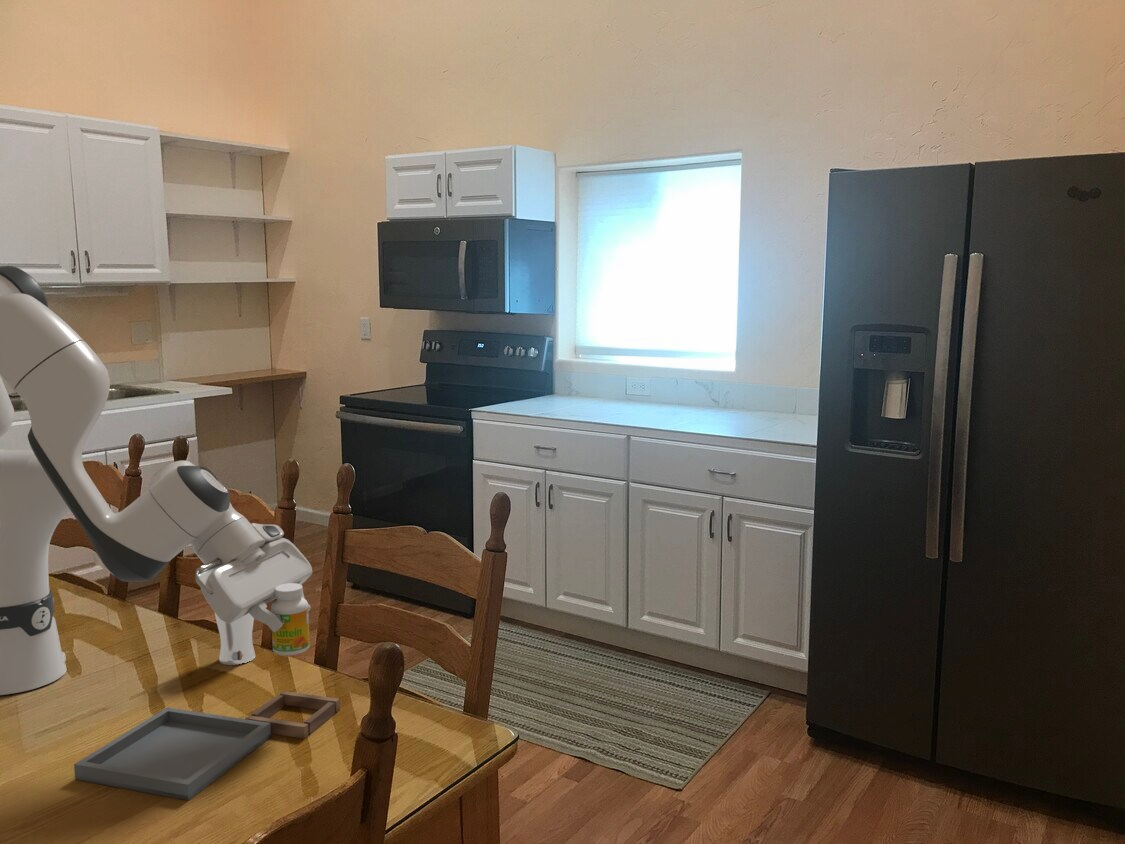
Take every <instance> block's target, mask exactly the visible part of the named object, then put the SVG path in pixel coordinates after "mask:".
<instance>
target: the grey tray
mask: <svg viewBox="0 0 1125 844" xmlns="http://www.w3.org/2000/svg"><path fill="white" fill-rule="evenodd" d="M271 737H272V734H271V728H270V723H267V722H260V721H253V720H247V719H245V718H241V717H233V716H227V715H226V716H225V715H219V714H213V713H206V712H201V711H200V712H199V711H193V710H186V709H180V708H173V707H165V708H164V709H162V710H160V711H159V712H157V713H156V714H154V715H153V716H151V717H149V718H148V719H146V720H144V721H142V722H141V723H139V724H138V725H136V726H134V727H133V728H131V729H130V730H128V731H126V732H125V733H123V734H121V735H119V736H118V737H116V738H115V739H113V740H111V741H109V742H107V744H105V745H103V746H102V747H100V748H98V749H97V750H95V751H93V752H92V753H90V754H88V755H87V756H85V757H84V758H82V759H80V760H79V761H77V762H75V763H74V764H73V767H74V768H73V769H74V780H75V781H80V782H85V783H86V782H87V783H91V784H98V785H101V786H106V787H107V786H108V787H113V788H119V789H123V790H131V791H134V792H135V791H136V792H141V793H145V794H152V795H157V796H161V797H167V798H173V799H178V800H184V801H190V800H192V799H193V798H194V797H196V796H197V795H198V794H199V793H201V792H202V791H204V789H206V788H207V787H209V785H211V784H212V783H214V782H215V781H216V780H217V779H219V778H220V777H221V776H223V775H224V774H225V773H226V772H228V771H229V770H230V769H232V768H234V767H235V765H237V764H238V763H240V762H241V761H242V760H244V759H245V758H246V757H247V756H249V755H251V754H252V753H253V752H254V751H255V750H256V749H258V748H259V747H260V746H262V745H263V744H264V743H266V742H267V741H268V740H270V739H271Z"/></svg>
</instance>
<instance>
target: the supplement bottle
mask: <svg viewBox="0 0 1125 844" xmlns="http://www.w3.org/2000/svg"><path fill="white" fill-rule="evenodd" d="M303 594H304V588H303V584H302V585H300V584H297V583H287V584H282V585H279V586H277V587H276V588H275V598H276V599H275V600H273V602H272V603H271V606H270V612H272V613H274V614H275V615H278V614H280V615H281V616H282V618H283V619H284V620H285V621H286V624H285V625H284V626H283V627H282V628H281V629H280V630H278V631H276V632H273V631H272V630H271V639H272V641H271V642H272V651H273V652H274V653H275V654H277V655H280V656H295V655H298V654H302V653H304V652H306V651H308V650H309V648H310V646H311V645H310V623H309V622H310V619H309V617H310V616H309V611H308V604H309V603H308V601H307V599H306V598H305V597H304V598H305V599H304V598H301V597H302V596H303Z"/></svg>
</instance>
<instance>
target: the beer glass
mask: <svg viewBox="0 0 1125 844" xmlns="http://www.w3.org/2000/svg"><path fill="white" fill-rule="evenodd" d="M214 617H215V620H216V625H217V630H218V632H219V639H220V651H219V657H218V658H219V659H218V661H219V663H220V664H222V665H226V666H238V665H239V664H240V665H243V664H242V663H245V664H247V662H248V663H250V662H252V661H254V660H255V658H256V652H255V648H254V644H253V643H254V642H253V630H254V621H255V619H254V618H253V617H252V616H251V615H250V613H248V614H247V615H245V616H243V617H241V618H239V619H237V620H236V621H234V622H232V623H226V622H224V621H222V620H221V619H220V618H219V617H218V616H217V614H216V613H215V612H214ZM249 661H250V662H249ZM240 665H239V666H240Z"/></svg>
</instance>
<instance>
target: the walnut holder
mask: <svg viewBox="0 0 1125 844" xmlns="http://www.w3.org/2000/svg"><path fill="white" fill-rule="evenodd" d="M340 699H341V698H335V697H329V696H323V695H321V696H320V695H316V694H307V693H301V692H292V691H286V690H283V691H281V692H280V693H279V694H278V695H276V696H275V697H273V698H271V699H270V700H269V701H267V702H266V703H265V704H263V705H262V706H261V707H259V708H258V709H256V710H254V711H253V712H251V713H250V714H251V715H248V716H246V717H244V719H247V720H253V721H260V722H267V723H270V728H271V735H277V736H284V737H290V738H296V739H298V738H299V739H303V740H305V739H306V738H308V737H309V735H311V734H312V733H314V732H315V731H316V730H317V729H319V728H320V727H321V726H323V725H324V723H326V722H327V721H329V720H330V718H332V717H333V716H334V715H335V714H336V713H338V712H339V711H340V710H341V702H340ZM285 706H289V707H295V708H304V709H308V710H309V709H311V710H317V711H315V712H314V713H313V714H312V715H310V717H308V718H307V719H305V720H304V721H303V722H297V721H296V722H295V721H290V720H282V719H275V718H271V717H272V716H273V715H275V714H276V713H277V712H278V711H280V710H282V709H283V708H284V707H285Z"/></svg>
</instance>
